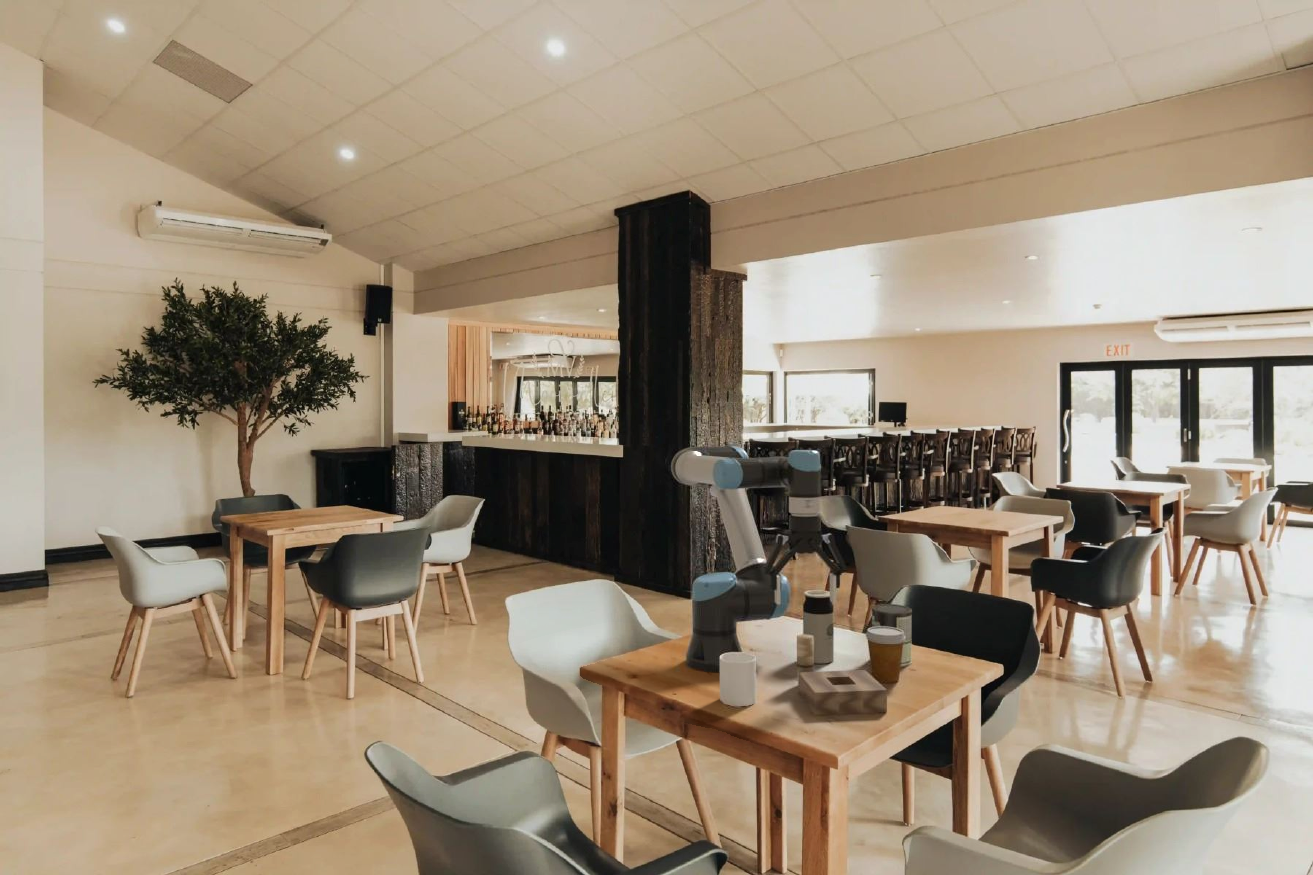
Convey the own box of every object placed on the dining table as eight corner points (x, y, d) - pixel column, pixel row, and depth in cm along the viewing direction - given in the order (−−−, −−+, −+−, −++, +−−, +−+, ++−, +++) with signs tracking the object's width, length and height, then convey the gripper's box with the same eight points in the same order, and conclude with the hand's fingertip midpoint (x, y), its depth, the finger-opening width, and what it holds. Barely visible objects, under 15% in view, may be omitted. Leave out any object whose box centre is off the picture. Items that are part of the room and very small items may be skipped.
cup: (713, 703, 181) (713, 659, 180) (735, 688, 191) (735, 646, 191) (747, 710, 176) (747, 664, 176) (767, 693, 187) (767, 650, 187)
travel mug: (797, 659, 214) (796, 592, 213) (817, 653, 218) (816, 588, 218) (819, 666, 207) (819, 597, 207) (839, 660, 212) (839, 593, 212)
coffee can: (876, 666, 206) (876, 612, 206) (867, 655, 217) (867, 603, 216) (917, 667, 206) (916, 612, 206) (905, 655, 216) (905, 603, 216)
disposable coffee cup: (904, 674, 200) (903, 626, 200) (907, 686, 191) (907, 636, 191) (865, 671, 202) (864, 624, 202) (866, 683, 193) (866, 634, 193)
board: (815, 715, 173) (815, 692, 173) (798, 693, 187) (798, 672, 187) (886, 712, 174) (886, 689, 174) (865, 690, 188) (864, 669, 188)
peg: (799, 689, 190) (799, 639, 190) (794, 683, 194) (794, 634, 194) (816, 688, 190) (815, 638, 190) (811, 682, 194) (811, 633, 194)
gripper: (756, 517, 186) (757, 607, 187) (860, 515, 188) (861, 604, 189) (750, 513, 194) (751, 600, 194) (850, 511, 196) (850, 597, 196)
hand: (805, 602), depth 192 cm, fingers open, 13 cm apart
